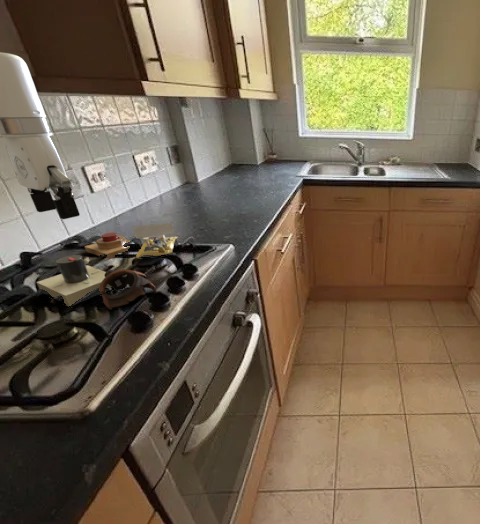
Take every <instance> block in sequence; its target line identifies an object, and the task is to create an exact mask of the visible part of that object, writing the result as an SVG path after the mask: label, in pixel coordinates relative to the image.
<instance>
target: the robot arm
mask: <svg viewBox="0 0 480 524" xmlns="http://www.w3.org/2000/svg"><path fill="white" fill-rule="evenodd" d="M53 134H54V133H53V132H52V129H51V126H50V122H49V121H48V118H47V115H46V112H45V110H44V107H43V104H42V101H41V99H40V96H39V94H38V90H37V88H36V85H35V82H34V80H33V78H32V74H31V72H30V69H29V67H28V64H27V63H26V61H25V60H24V59H23V58H22V57H21V56H18V55H16V54H14V53H8V52H1V51H0V138H3V142H4V145H5V149H6V152H7V155H8V159H9V161H10V164H11V166H12V169H13V171H14V175H15V176H16V179H17V182H18V183H19V185H21V186H22V187H25V188H26V189H27V192H28V193H29V195H30V198H31V201H32V203H33V204H34V208H35V210H36V212H38V213H44V212H49V211H54V210H56V211H57V214H58V216H59V218H60V219H61V220H67V219H71V218H76V217H79V216H80V211H79V209H78V206H77V203H76V200H75V196H74V194H73V193H74V192H72V191H73V188H72V187H71V183H70V179H69V177H68V176H67V173H66V170H65V167H64V165H63V161H62V159H61V158H60V155H59V154H58V151H57V149H56V146H55V145H54V142H53V141H52V139H51V137H52V136H54V135H53ZM56 190H57V191H56Z"/></svg>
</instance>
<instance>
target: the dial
mask: <svg viewBox="0 0 480 524" xmlns="http://www.w3.org/2000/svg"><path fill="white" fill-rule="evenodd" d="M55 262H56V265H57V268H58V270H59V272H60V274H62V277H63V279H64V281H65V283H77V282H81V281H84V280H86V279H88V278H89V273H88V271H87V268H86V266H87V265H86V263H85V260H84V259H83V256H82V255H80V254H73V255H72V254H71V255H67V256H63V257H60V258H59V259H57V260H56V261H55Z"/></svg>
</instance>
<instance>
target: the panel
mask: <svg viewBox="0 0 480 524" xmlns="http://www.w3.org/2000/svg"><path fill="white" fill-rule="evenodd" d="M86 268H87V271H88V273H89V278H88V279H86V280H84V281H81V282H77V283H65V281H64V279H63V277H62V274H61V273H60V274H57V275H54V276H51V277H48V278H44V279H42V280H38V281H36V284H37V287H38V289H39V290H40V289H43V290H45V291H47V292H48V293H49V294H50V295H51V296H52V297H56V296H59V295H61V296H62V297H63V299H64V303H65V304H66V305H65V306H66V307H68V308H70V307H69V306H71V305H72V304H74V303H75V302H76V301H78V300H79V299H81V298H82V297H84V296H85V295H86V294H87V293H89V292H91V291H93V290H94V289H96V288H98V287H100V284H101V282H102V281H103V279H104V278H105V276H104V275H105V273H106V272H107V271H104V270H102V269H98V268H96V267H93V266H91V265H89V264H88V265H86ZM106 287H110V285H108V284H107V286H106Z"/></svg>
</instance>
